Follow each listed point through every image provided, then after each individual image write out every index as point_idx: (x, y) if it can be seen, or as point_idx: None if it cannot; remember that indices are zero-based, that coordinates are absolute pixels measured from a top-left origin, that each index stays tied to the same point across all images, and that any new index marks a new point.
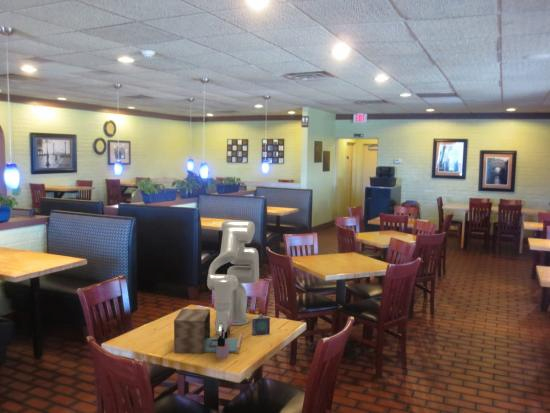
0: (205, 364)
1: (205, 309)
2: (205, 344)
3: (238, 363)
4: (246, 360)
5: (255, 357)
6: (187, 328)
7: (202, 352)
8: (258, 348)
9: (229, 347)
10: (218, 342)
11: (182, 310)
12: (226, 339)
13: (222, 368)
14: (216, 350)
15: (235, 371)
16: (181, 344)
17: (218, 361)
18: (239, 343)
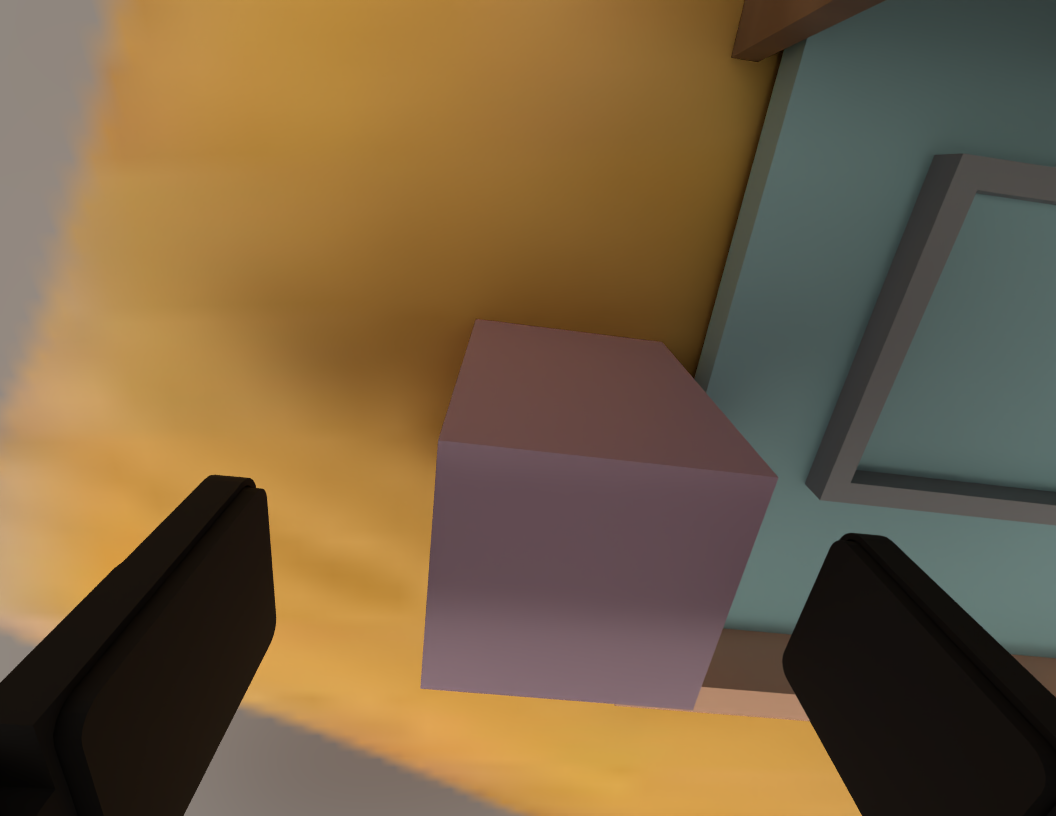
0: (189, 108)
1: None
2: None
3: (291, 605)
4: (388, 682)
5: (472, 758)
6: None
7: (750, 4)
8: (721, 788)
9: (781, 532)
10: (144, 573)
11: None
12: (697, 665)
13: (87, 413)
14: (723, 321)
15: (37, 571)
16: None
17: (341, 350)
18: (752, 715)
